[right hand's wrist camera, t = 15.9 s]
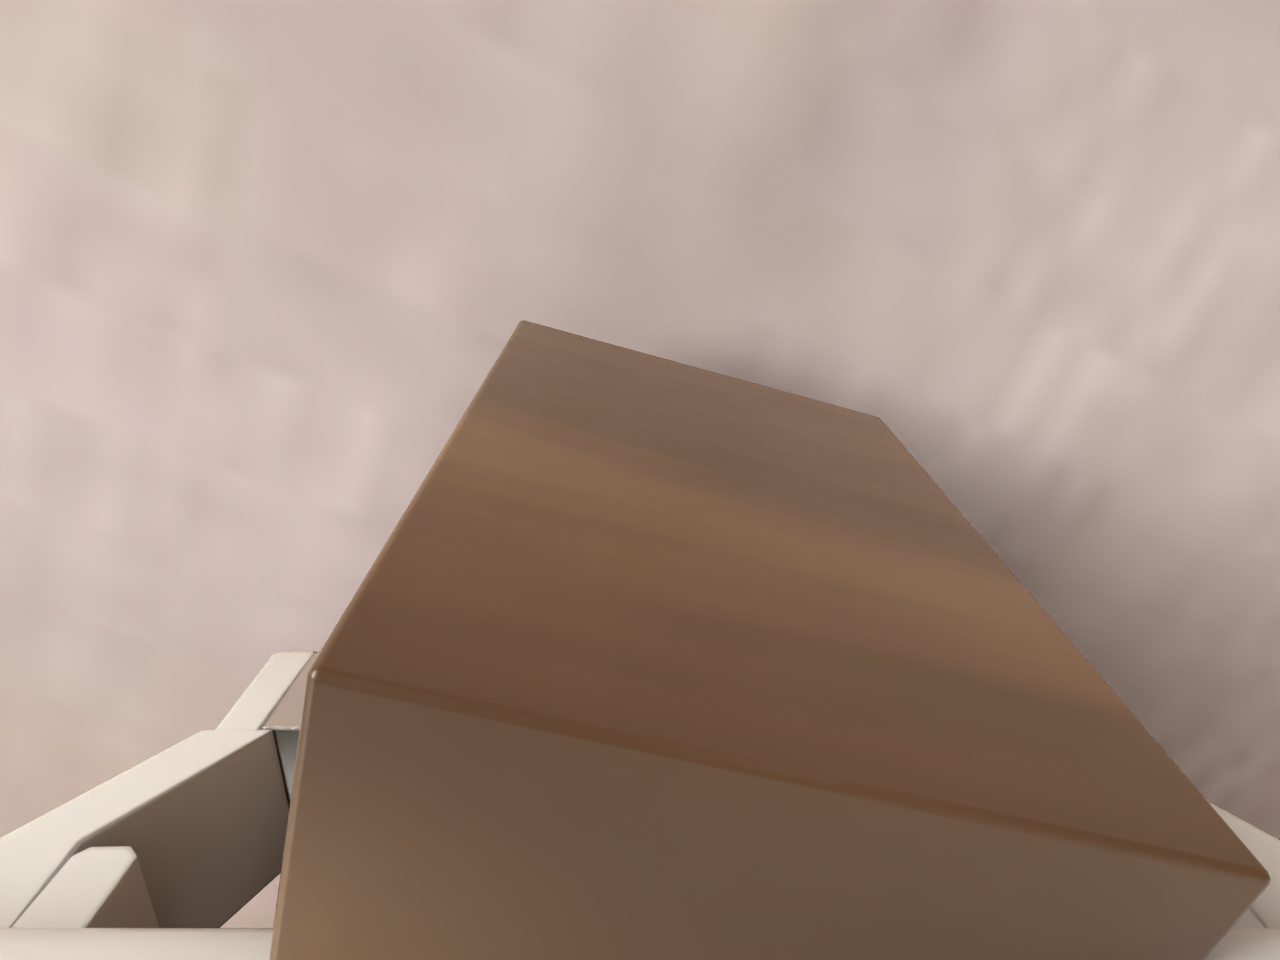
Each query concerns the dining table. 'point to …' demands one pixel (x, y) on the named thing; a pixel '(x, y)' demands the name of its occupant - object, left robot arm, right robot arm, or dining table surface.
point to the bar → (719, 708)
